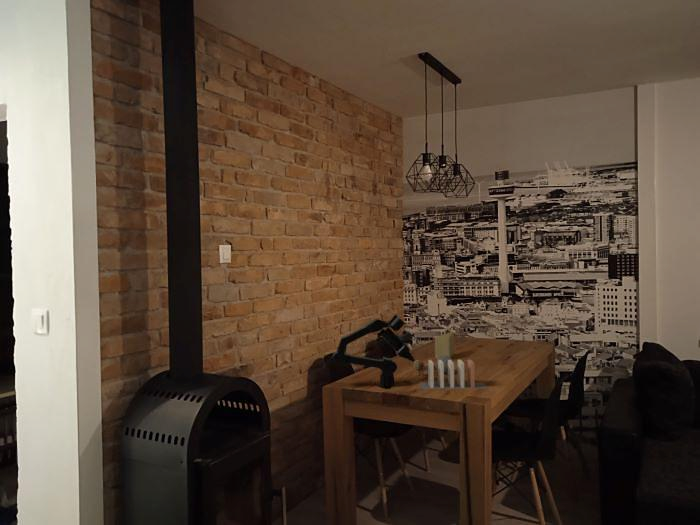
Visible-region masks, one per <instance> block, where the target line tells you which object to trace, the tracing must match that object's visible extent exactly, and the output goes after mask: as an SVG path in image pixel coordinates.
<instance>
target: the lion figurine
mask: <svg viewBox="0 0 700 525" xmlns="http://www.w3.org/2000/svg"><path fill="white" fill-rule="evenodd" d="M413 366H414V369H415V370H416V371H417V372H418V375H420V377H421V376H423V377H424V371H425V372H426V371H428V363H424V362H422V361H420V360H419V359H416V360H415V361H414V362H413ZM435 375H436V376H438V371H437V367H436V364H434V376H435Z"/></svg>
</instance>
